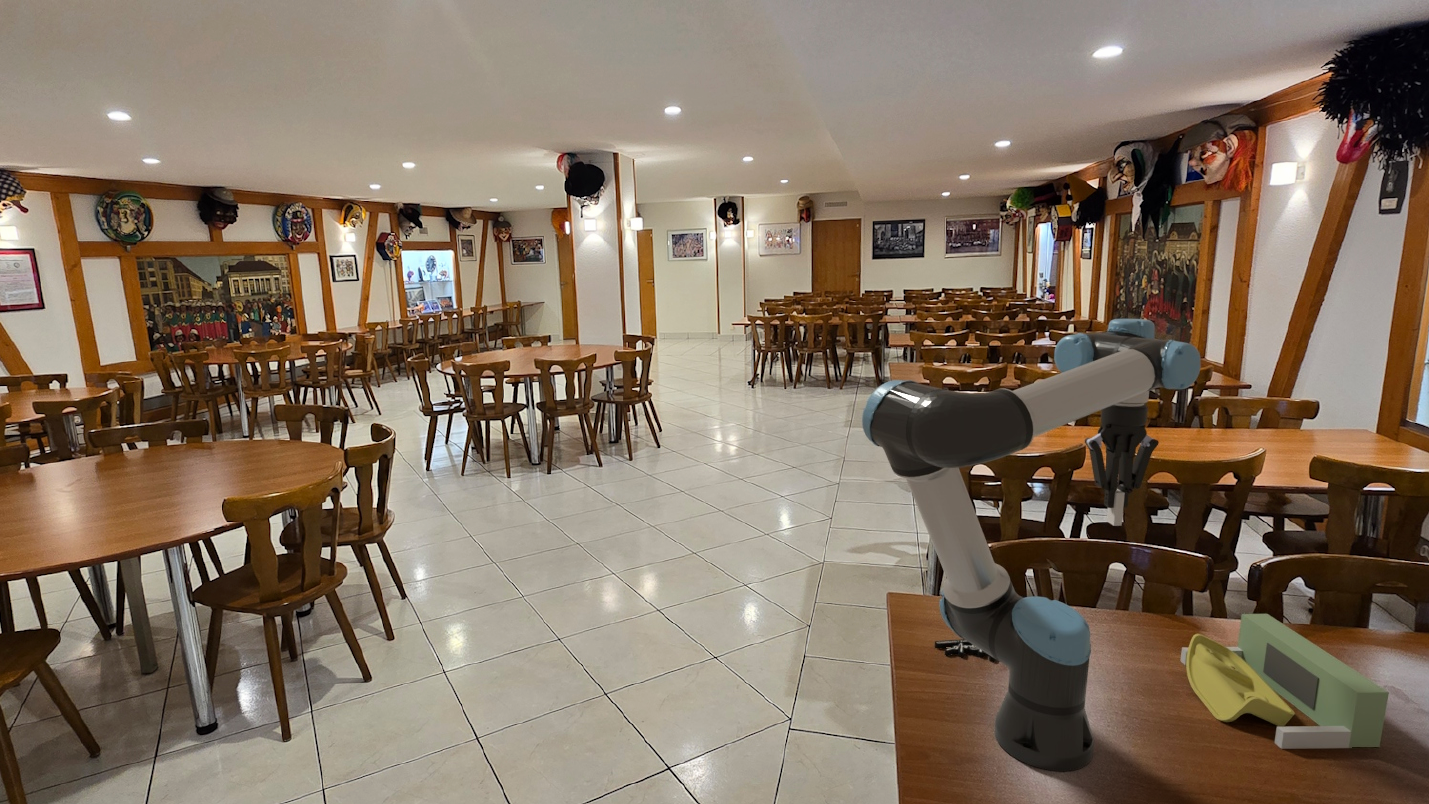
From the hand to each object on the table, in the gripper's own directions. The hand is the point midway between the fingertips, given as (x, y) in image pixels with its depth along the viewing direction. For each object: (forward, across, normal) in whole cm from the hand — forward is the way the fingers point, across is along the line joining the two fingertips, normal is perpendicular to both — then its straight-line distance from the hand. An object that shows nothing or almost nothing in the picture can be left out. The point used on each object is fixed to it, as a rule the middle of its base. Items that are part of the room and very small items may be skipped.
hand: (1114, 523), depth 142 cm
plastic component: (+30, +18, -12) cm, 37 cm away
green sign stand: (+29, +24, -13) cm, 40 cm away
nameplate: (+30, -17, +6) cm, 35 cm away
